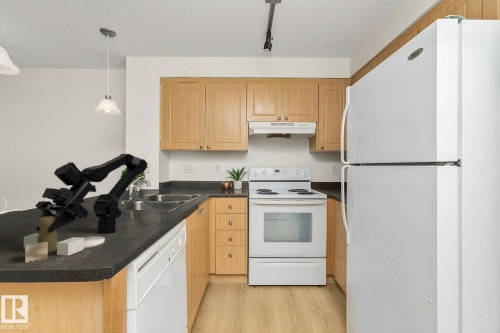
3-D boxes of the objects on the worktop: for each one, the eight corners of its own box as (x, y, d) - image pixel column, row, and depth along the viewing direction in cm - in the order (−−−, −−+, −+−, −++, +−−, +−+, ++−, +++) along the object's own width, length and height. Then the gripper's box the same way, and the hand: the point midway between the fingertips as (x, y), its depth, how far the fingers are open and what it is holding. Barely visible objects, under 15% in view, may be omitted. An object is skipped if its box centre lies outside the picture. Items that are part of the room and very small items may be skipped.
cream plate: (108, 238, 95) (108, 235, 95) (98, 247, 84) (98, 244, 84) (76, 239, 92) (76, 237, 92) (61, 249, 82) (61, 246, 82)
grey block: (73, 248, 83) (73, 237, 83) (83, 249, 82) (83, 237, 82) (56, 255, 77) (57, 242, 77) (68, 256, 76) (68, 243, 76)
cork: (44, 246, 84) (45, 215, 84) (63, 246, 84) (63, 215, 84) (30, 253, 78) (30, 218, 78) (50, 252, 78) (51, 218, 78)
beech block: (47, 254, 78) (47, 241, 78) (47, 258, 74) (47, 245, 74) (26, 257, 74) (26, 244, 74) (25, 263, 70) (25, 249, 70)
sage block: (47, 244, 87) (47, 233, 87) (37, 248, 83) (37, 236, 83) (34, 244, 87) (34, 233, 87) (23, 248, 82) (23, 236, 82)
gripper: (41, 178, 88) (2, 215, 77) (80, 180, 82) (44, 219, 72) (63, 197, 95) (30, 233, 85) (100, 200, 90) (70, 238, 79)
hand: (43, 231), depth 80 cm, fingers closed on cork, 5 cm apart
